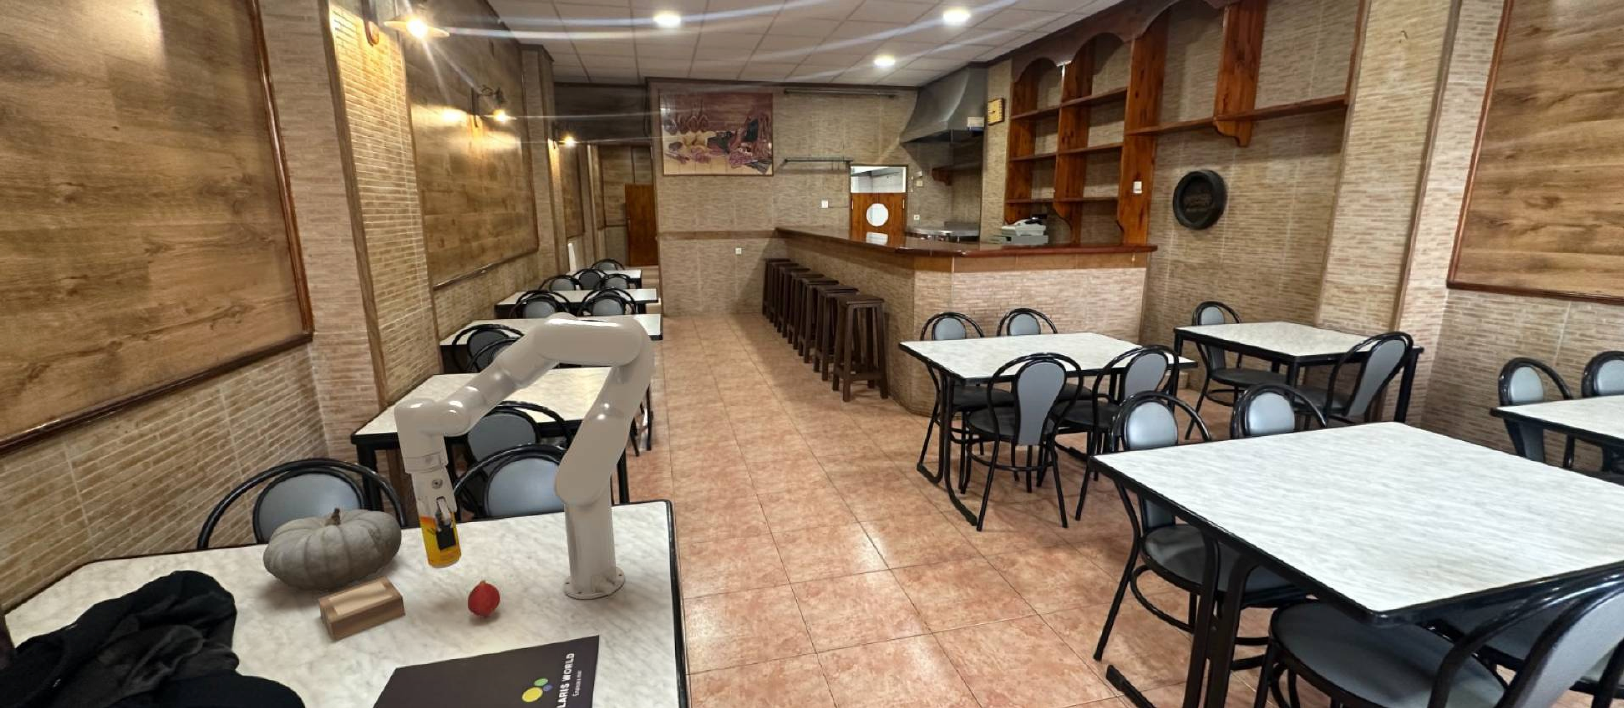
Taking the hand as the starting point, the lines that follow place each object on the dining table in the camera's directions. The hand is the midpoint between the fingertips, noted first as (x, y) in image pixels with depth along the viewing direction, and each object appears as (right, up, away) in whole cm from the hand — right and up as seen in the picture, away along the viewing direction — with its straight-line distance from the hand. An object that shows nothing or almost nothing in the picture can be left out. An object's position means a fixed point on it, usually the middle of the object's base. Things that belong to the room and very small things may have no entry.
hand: (441, 541), depth 137 cm
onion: (+11, -14, -3) cm, 18 cm away
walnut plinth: (-15, -15, -2) cm, 21 cm away
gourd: (-31, -12, +13) cm, 36 cm away
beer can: (0, -5, +1) cm, 5 cm away
